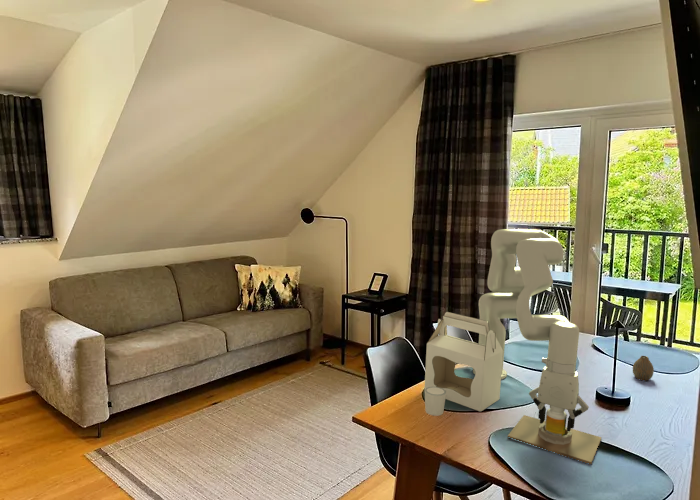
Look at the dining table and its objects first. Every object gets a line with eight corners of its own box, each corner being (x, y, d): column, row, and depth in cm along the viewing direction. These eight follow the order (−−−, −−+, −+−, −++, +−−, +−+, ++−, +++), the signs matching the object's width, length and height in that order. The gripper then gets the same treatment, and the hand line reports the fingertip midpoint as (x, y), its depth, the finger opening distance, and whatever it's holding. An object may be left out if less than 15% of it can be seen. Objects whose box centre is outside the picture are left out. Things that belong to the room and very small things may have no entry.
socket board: (507, 438, 143) (508, 429, 142) (523, 417, 156) (524, 408, 155) (591, 465, 130) (592, 455, 130) (601, 439, 143) (602, 430, 143)
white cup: (432, 418, 153) (433, 396, 152) (419, 409, 159) (420, 388, 158) (449, 414, 156) (450, 393, 155) (436, 405, 162) (437, 384, 161)
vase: (633, 380, 188) (635, 358, 187) (630, 374, 194) (632, 352, 193) (654, 383, 185) (656, 361, 184) (650, 377, 192) (653, 355, 190)
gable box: (423, 391, 173) (427, 313, 169) (443, 380, 183) (448, 306, 179) (481, 412, 158) (487, 327, 154) (500, 399, 168) (506, 319, 164)
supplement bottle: (566, 442, 140) (569, 409, 138) (546, 439, 141) (549, 407, 139) (562, 432, 145) (565, 401, 143) (542, 430, 146) (545, 398, 144)
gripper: (525, 362, 142) (521, 421, 144) (592, 377, 132) (586, 440, 134) (533, 355, 148) (528, 412, 150) (597, 369, 138) (591, 429, 140)
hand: (555, 425), depth 142 cm, fingers open, 6 cm apart
